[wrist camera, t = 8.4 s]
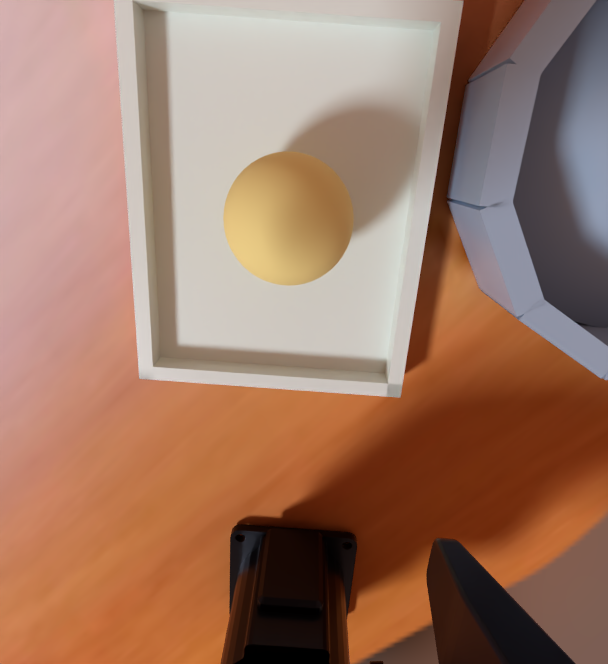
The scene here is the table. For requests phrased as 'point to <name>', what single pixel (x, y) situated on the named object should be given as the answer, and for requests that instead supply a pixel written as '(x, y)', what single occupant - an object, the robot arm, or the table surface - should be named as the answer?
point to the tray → (266, 138)
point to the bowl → (540, 174)
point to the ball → (288, 218)
